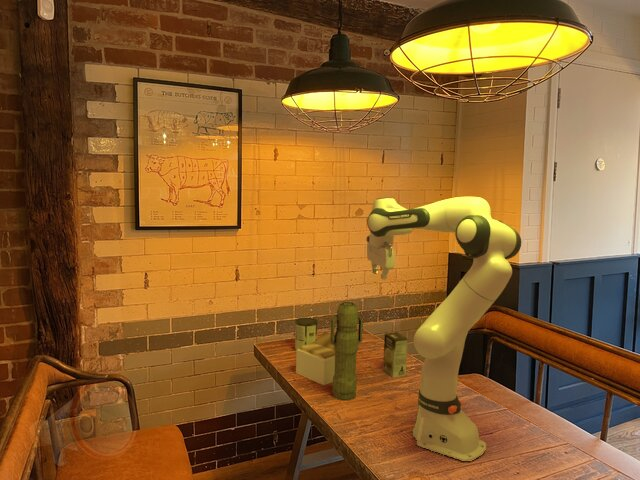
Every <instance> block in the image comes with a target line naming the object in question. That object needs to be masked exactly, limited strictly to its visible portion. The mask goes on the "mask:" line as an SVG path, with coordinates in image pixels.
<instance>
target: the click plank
mask: <svg viewBox="0 0 640 480" xmlns="http://www.w3.org/2000/svg"><path fill="white" fill-rule="evenodd" d="M334 337H335V334H334ZM315 343H318V344H321V345H324V346H326V347H329V348H332V349H334V345H332V344H331V332H327V331H324V332H323V333H322V334H321V335H320V336H319V337H317V340H316V341H315Z"/></svg>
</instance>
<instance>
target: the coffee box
mask: <svg viewBox="0 0 640 480" xmlns="http://www.w3.org/2000/svg"><path fill="white" fill-rule="evenodd" d="M383 342H384V343H383V362H382V370H383V371H384V372H385V373H387V374H388V376H391V378H394V379H395V378H399V377H405V376H406V374H407V361H408V360H407V358H408V357H407V356H408V342H409V339H408V338H407V337H405V336H404V335H402V334H401V333H400V332H398V331H396V332H388V333H387V332H385V333H384V341H383Z"/></svg>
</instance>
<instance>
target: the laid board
mask: <svg viewBox="0 0 640 480" xmlns="http://www.w3.org/2000/svg"><path fill="white" fill-rule="evenodd" d="M300 350H302V351H305V352H308V353H310V354H313V355H315V356H318V357H320V358H323V359H327V358H330V357H333V356H335V350H334V349H332V348H329V347H326V346H324V345H321V344H318V343H315V342H313V343H310V344H306V345H303V346H300Z"/></svg>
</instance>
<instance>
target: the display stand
mask: <svg viewBox="0 0 640 480" xmlns="http://www.w3.org/2000/svg"><path fill="white" fill-rule="evenodd" d="M295 352H296V355H295V374H297V375H300V376H302V377H305V378H306V379H309V380H310V381H313V382H315V383H318V384H319V385H322V386H326V385H328V384H331V383H333V376H334V373H335V356H333V357H330V358H327V359H323V358H320V357H318V356H315V355H313V354H310V353H308V352H305V351H302V350H300V349H297V350H296V351H295Z"/></svg>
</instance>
